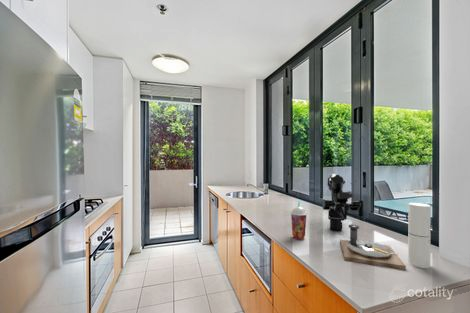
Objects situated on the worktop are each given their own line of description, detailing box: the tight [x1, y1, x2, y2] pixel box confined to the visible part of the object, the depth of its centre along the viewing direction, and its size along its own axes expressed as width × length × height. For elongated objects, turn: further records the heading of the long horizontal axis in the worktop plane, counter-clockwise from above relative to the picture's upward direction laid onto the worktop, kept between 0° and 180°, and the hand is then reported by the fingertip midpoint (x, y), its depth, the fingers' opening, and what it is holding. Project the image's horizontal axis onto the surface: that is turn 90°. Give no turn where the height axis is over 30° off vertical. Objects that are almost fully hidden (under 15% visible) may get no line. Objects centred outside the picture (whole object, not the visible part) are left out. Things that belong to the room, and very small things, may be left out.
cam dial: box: [348, 224, 391, 258], centre depth 102 cm, size 17×17×10 cm
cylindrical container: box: [407, 202, 432, 269], centre depth 93 cm, size 7×7×25 cm
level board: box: [339, 238, 407, 271], centre depth 102 cm, size 22×22×2 cm
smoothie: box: [290, 201, 308, 241], centre depth 122 cm, size 8×8×20 cm
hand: (345, 219), depth 115 cm, fingers closed
